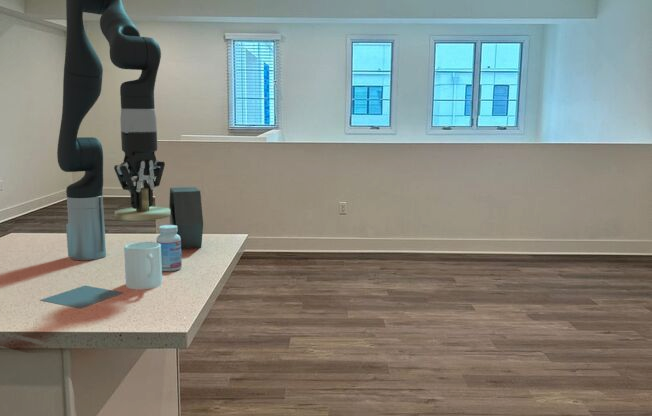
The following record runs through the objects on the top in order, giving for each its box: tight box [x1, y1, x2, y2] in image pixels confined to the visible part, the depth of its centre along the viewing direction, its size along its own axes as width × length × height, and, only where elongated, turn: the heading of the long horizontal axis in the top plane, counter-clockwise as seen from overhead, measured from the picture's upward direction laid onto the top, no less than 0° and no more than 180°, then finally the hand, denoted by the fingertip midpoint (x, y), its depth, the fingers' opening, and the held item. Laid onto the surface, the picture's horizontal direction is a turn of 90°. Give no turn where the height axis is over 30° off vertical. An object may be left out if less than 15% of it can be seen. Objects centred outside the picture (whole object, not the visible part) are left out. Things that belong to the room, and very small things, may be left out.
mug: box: [123, 241, 163, 290], centre depth 133 cm, size 8×12×10 cm, turn 33°
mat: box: [39, 285, 125, 310], centre depth 126 cm, size 12×12×1 cm
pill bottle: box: [156, 224, 183, 272], centre depth 150 cm, size 6×6×11 cm
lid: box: [114, 187, 171, 222], centre depth 131 cm, size 12×12×6 cm
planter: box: [168, 186, 204, 250], centre depth 177 cm, size 17×8×21 cm
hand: (142, 207), depth 131 cm, fingers closed on lid, 2 cm apart
